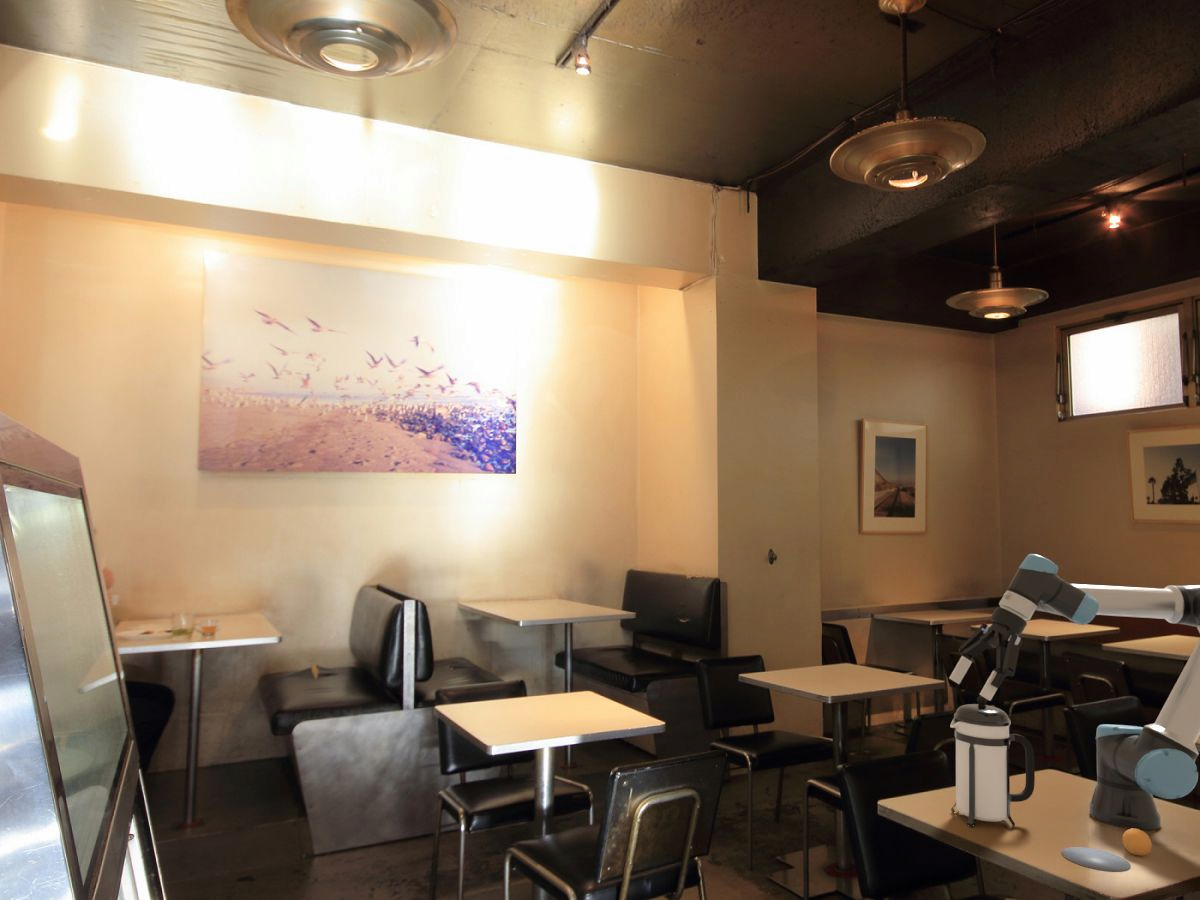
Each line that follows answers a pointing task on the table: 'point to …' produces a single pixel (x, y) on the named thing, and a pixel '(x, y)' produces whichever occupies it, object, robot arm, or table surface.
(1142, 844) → the ball
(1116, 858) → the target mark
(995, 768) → the coffee press
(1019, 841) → the table surface
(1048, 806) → the table surface
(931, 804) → the table surface
